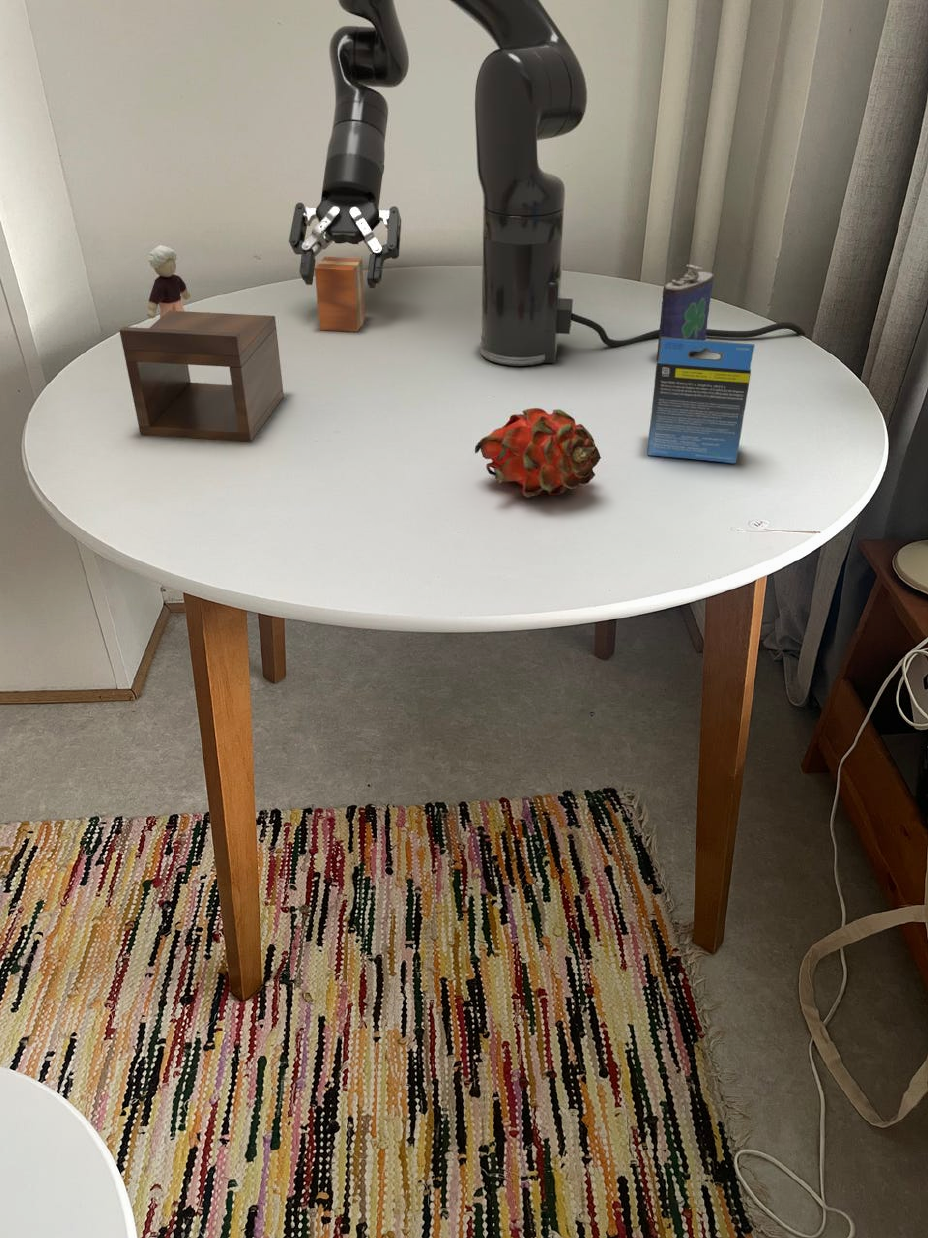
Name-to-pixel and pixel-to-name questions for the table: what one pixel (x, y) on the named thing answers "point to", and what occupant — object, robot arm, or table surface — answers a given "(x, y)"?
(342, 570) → the table surface
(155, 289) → the grandmother figurine
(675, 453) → the tape cartridge
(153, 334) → the shelf
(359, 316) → the block
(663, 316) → the flask
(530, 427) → the dragon fruit
